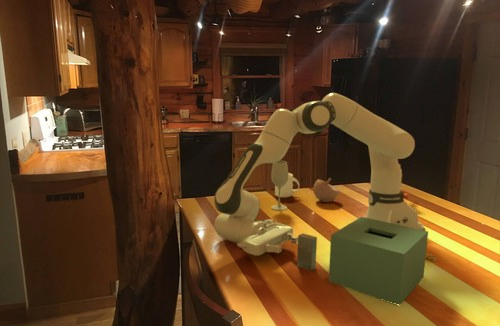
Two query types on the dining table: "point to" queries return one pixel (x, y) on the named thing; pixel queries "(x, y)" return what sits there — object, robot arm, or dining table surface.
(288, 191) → the mug
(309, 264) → the brown upright bar
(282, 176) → the wineglass
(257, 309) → the dining table surface
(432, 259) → the dice set
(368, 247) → the coin box
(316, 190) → the mortar and pestle
